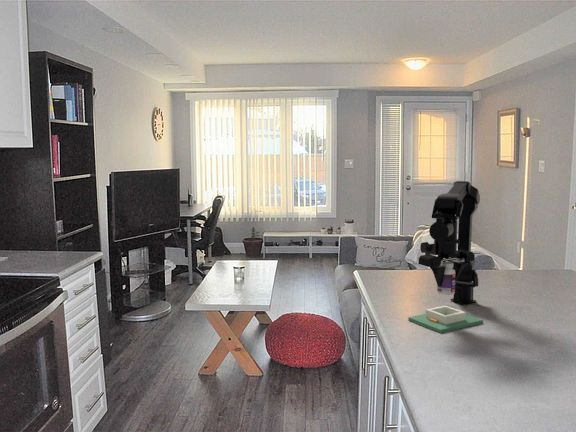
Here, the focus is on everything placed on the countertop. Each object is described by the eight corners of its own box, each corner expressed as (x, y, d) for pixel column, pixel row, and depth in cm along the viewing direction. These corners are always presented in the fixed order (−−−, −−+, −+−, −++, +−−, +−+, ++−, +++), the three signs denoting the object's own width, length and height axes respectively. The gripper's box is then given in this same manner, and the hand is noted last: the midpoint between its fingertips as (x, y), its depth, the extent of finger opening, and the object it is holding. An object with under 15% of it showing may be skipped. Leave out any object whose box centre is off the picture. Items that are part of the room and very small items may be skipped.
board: (449, 311, 182) (449, 301, 181) (482, 323, 170) (483, 312, 169) (408, 320, 173) (408, 309, 173) (440, 333, 161) (440, 321, 161)
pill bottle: (455, 295, 167) (456, 264, 166) (437, 294, 168) (438, 264, 167) (454, 291, 173) (454, 261, 171) (436, 290, 174) (437, 260, 172)
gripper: (449, 230, 180) (448, 276, 182) (406, 235, 171) (405, 283, 173) (476, 234, 170) (474, 283, 172) (432, 240, 161) (431, 291, 163)
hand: (446, 285), depth 170 cm, fingers closed on pill bottle, 5 cm apart
